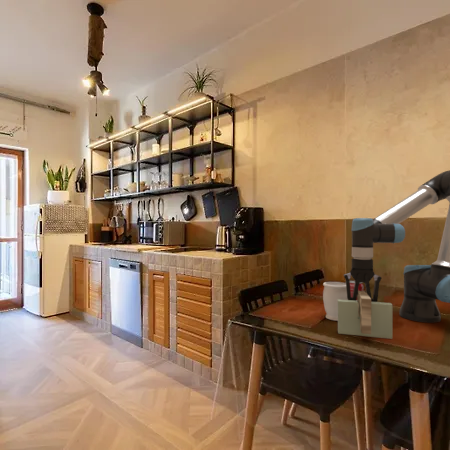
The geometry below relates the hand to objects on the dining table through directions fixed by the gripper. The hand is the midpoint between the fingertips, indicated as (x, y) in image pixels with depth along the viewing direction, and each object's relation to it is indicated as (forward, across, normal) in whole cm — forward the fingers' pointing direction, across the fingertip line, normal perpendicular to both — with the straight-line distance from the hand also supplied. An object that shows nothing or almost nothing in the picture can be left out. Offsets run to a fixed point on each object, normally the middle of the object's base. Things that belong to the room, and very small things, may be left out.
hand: (361, 319), depth 116 cm
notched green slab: (+4, 0, +5) cm, 6 cm away
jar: (+4, +9, -13) cm, 16 cm away
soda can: (+4, -1, -32) cm, 32 cm away
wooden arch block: (+2, 0, +5) cm, 5 cm away
